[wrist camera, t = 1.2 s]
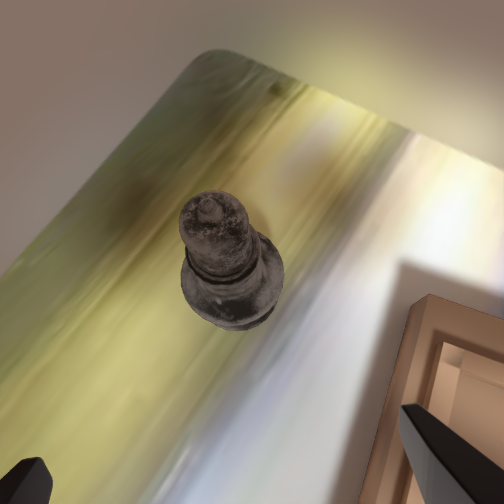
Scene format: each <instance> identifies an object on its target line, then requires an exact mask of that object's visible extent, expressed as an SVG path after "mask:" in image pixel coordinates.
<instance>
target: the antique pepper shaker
mask: <svg viewBox="0 0 504 504" xmlns="http://www.w3.org/2000/svg"><path fill="white" fill-rule="evenodd" d="M179 231H180V234H181V237H182V240H183V241H184V243H185V245H186V247H185V255H186V257H185V259H184V261H183V265H182V270H181V287H182V290H183V294H184V297H185V299H186V301H187V302H188V304H189V305H190V307H191V308H192V310H194V311H195V312H196V313H197V314H198V315H200V316H201V317H202V318H203V319H205V320H207V321H210V322H212V323H214V324H215V325H217V326H219V327H221V328H223V329H226V330H232V331H241V330H248V329H251V328H253V327H256V326H258V325H259V324H261V323H262V322H263V321H265V320H266V319H267V318H268V316H269V315H270V314H271V313H272V311H273V310H274V307H275V305H276V303H277V299H278V297H279V295H280V292H281V290H282V287H283V280H284V269H283V262H282V259H281V257H280V255H279V252H278V250H277V249H276V247H275V246H274V245H273V244H272V243H271V241H270V240H269V239H268V238H266V237H265V236H263V235H262V234H260V233H259V232H257V231H256V230H255V229H254V228H253V227H252V226H251V224H249V219H248V215H247V212H246V210H245V208H244V207H243V205H242V204H241V203H240V202H239V200H238V199H237V198H235V197H234V196H232V195H231V194H228V193H226V192H223V191H215V190H213V191H205V192H202V193H200V194H197V195H196V196H194V197H193V198H191V199H190V200H189V201H188V202H187V203H186V204H185V205H184V207H183V209H182V211H181V213H180V218H179Z"/></svg>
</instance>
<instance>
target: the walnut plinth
mask: <svg viewBox="0 0 504 504" xmlns="http://www.w3.org/2000/svg"><path fill="white" fill-rule="evenodd" d="M408 403H418V404H419V405H421V406H422V407H423V408H425V409H426V410H427V411H429V412H430V413H431V414H432V415H434V416H435V417H436V418H438V419H439V420H440V421H441V422H443V423H444V424H445V425H447V426H448V427H449V428H450V429H452V430H453V431H454V432H456V433H457V434H458V435H459V436H461V437H462V438H463V439H465V440H466V441H467V442H469V443H470V444H471V445H472V446H474V447H475V448H476V449H478V450H479V451H480V452H481V453H483V454H484V455H485V456H487V457H488V458H489V459H490V460H492V461H493V462H494V463H496V464H497V465H498V466H499V467H501V468H502V469H503V470H504V320H503V319H500V318H497V317H494V316H491V315H488V314H485V313H483V312H480V311H477V310H474V309H471V308H468V307H465V306H463V305H460V304H457V303H454V302H451V301H448V300H445V299H443V298H440V297H437V296H434V295H431V294H428V295H427V296H425V297H424V298H422V299H421V300H419V301H418V302H416V303H415V304H413V305H412V306H411V308H410V312H409V315H408V319H407V323H406V326H405V330H404V334H403V338H402V341H401V345H400V349H399V352H398V356H397V360H396V364H395V367H394V371H393V375H392V378H391V382H390V386H389V390H388V393H387V397H386V401H385V404H384V408H383V412H382V416H381V419H380V423H379V427H378V430H377V434H376V438H375V442H374V445H373V449H372V453H371V456H370V460H369V464H368V468H367V471H366V475H365V479H364V482H363V486H362V490H361V494H360V497H359V501H358V504H425V502H424V500H423V497H422V494H421V492H420V489H419V486H418V484H417V481H416V478H415V476H414V473H413V470H412V467H411V465H410V462H409V459H408V457H407V454H406V451H405V448H404V446H403V443H402V440H401V437H400V433H399V408H400V406H401V405H402V404H408Z"/></svg>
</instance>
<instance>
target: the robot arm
mask: <svg viewBox="0 0 504 504" xmlns="http://www.w3.org/2000/svg"><path fill="white" fill-rule="evenodd" d="M399 433H400V437H401V440H402V443H403V446H404V448H405V451H406V454H407V457H408V459H409V462H410V465H411V467H412V470H413V473H414V476H415V478H416V481H417V484H418V486H419V489H420V492H421V494H422V497H423V500H424V502H425V504H504V470H503V469H502V468H501V467H499V466H498V465H497V464H496V463H494V462H493V461H492V460H490V459H489V458H488V457H487V456H485V455H484V454H483V453H481V452H480V451H479V450H478V449H476V448H475V447H474V446H472V445H471V444H470V443H469V442H467V441H466V440H465V439H463V438H462V437H461V436H459V435H458V434H457V433H456V432H454V431H453V430H452V429H450V428H449V427H448V426H447V425H445V424H444V423H443V422H441V421H440V420H439V419H438V418H436V417H435V416H434V415H432V414H431V413H430V412H429V411H427V410H426V409H425V408H423V407H422V406H421V405H419V404H418V403H408V404H402V405H401V406H400V408H399ZM52 487H53V480H52V476H51V474H50V472H49V471H48V469H47V467H46V465H45V463H44V461H43V459H42V458H40V457H33V458H26V459H23V460H21V461H20V462H19V463H18V464H16V465H15V466H14V467H13V468H12V469H11V470H10V471H9V472H8V473H7V474H6V475H5V476H4V477H3V478H2V479H0V504H49V500H50V496H51V492H52Z"/></svg>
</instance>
